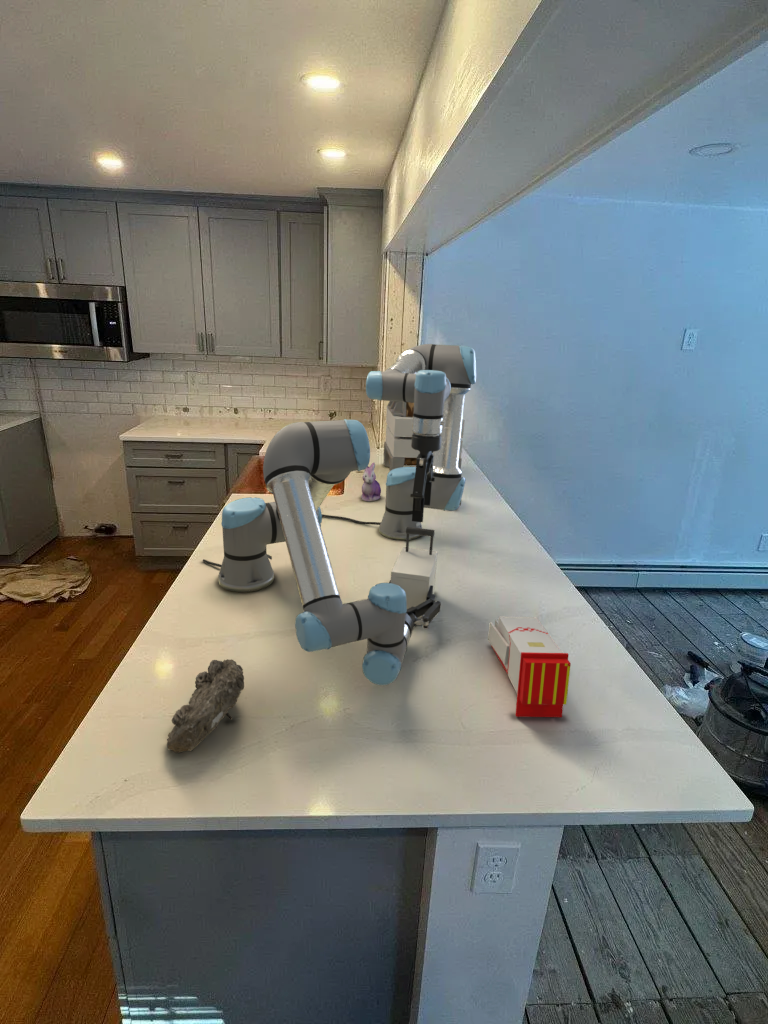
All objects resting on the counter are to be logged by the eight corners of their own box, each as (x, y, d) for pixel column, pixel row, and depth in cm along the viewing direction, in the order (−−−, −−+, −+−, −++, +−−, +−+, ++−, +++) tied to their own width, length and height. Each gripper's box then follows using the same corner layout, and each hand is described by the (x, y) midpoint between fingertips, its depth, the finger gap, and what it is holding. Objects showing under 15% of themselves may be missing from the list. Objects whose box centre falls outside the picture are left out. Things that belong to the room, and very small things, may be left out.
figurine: (365, 503, 229) (367, 467, 224) (355, 495, 237) (356, 461, 232) (386, 500, 233) (388, 465, 228) (375, 493, 242) (376, 459, 237)
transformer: (382, 463, 289) (386, 382, 275) (445, 464, 293) (451, 384, 279) (390, 482, 257) (394, 392, 243) (460, 483, 261) (468, 394, 247)
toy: (534, 602, 136) (579, 659, 107) (529, 653, 139) (572, 723, 110) (484, 601, 136) (516, 658, 107) (480, 652, 139) (510, 722, 109)
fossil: (192, 660, 117) (244, 628, 112) (224, 691, 120) (276, 661, 115) (142, 746, 98) (202, 712, 93) (182, 779, 101) (242, 748, 96)
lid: (402, 551, 158) (404, 523, 155) (437, 555, 156) (439, 527, 153) (390, 576, 143) (392, 545, 140) (429, 581, 141) (431, 550, 138)
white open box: (399, 588, 161) (402, 552, 157) (434, 593, 159) (437, 557, 155) (388, 615, 147) (390, 576, 143) (426, 620, 145) (429, 581, 141)
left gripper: (345, 639, 129) (368, 594, 150) (443, 654, 125) (453, 606, 146) (346, 610, 127) (369, 568, 147) (445, 625, 123) (455, 580, 143)
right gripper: (435, 445, 131) (428, 530, 138) (447, 425, 154) (441, 499, 161) (403, 442, 132) (398, 527, 139) (419, 423, 155) (415, 497, 162)
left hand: (411, 587), depth 147 cm, fingers closed on white open box, 10 cm apart
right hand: (421, 512), depth 150 cm, fingers open, 13 cm apart
